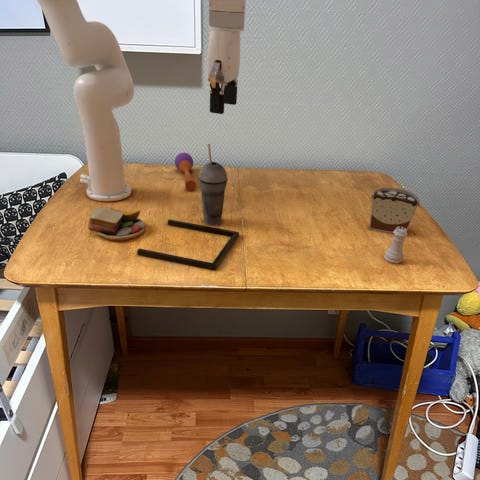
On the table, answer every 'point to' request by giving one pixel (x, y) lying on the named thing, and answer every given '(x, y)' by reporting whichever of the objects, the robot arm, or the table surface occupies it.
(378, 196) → the food container
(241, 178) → the table surface
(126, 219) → the toy sandwich meal
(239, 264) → the table surface
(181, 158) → the purple maraca
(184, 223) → the frame
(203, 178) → the beverage cup
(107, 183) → the robot arm
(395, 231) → the rook chess piece
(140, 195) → the table surface
